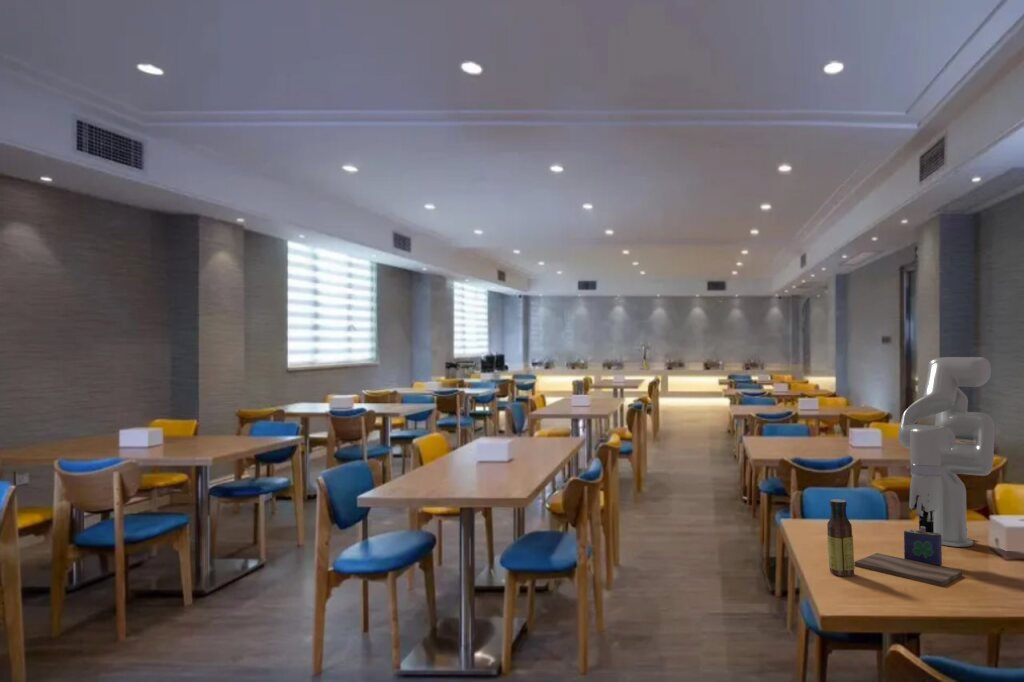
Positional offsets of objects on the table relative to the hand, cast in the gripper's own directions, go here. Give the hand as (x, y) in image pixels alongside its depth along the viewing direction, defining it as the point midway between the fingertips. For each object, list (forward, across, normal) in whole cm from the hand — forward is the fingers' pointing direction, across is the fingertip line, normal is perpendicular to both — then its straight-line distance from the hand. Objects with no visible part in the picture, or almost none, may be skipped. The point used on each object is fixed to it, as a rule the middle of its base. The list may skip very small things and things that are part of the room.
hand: (926, 534), depth 194 cm
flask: (+8, +3, 0) cm, 9 cm away
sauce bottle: (+8, +30, -10) cm, 33 cm away
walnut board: (+8, +13, 0) cm, 15 cm away
